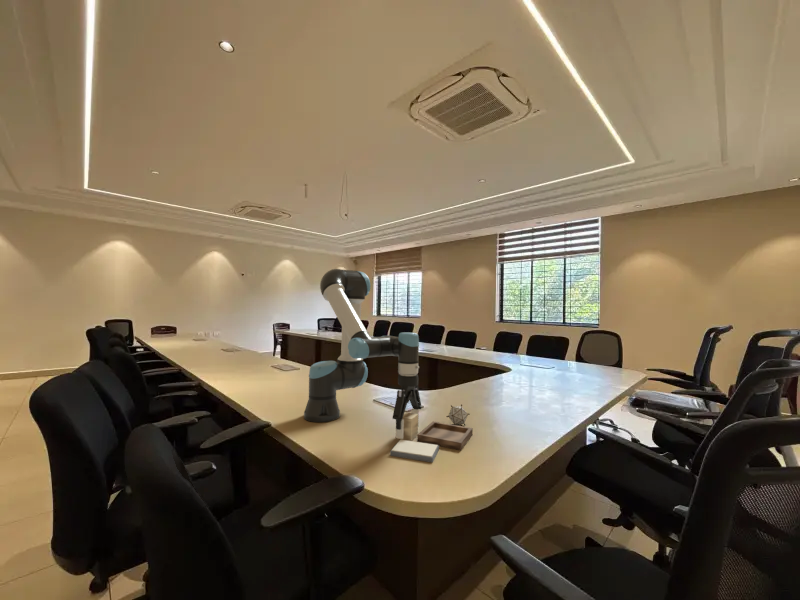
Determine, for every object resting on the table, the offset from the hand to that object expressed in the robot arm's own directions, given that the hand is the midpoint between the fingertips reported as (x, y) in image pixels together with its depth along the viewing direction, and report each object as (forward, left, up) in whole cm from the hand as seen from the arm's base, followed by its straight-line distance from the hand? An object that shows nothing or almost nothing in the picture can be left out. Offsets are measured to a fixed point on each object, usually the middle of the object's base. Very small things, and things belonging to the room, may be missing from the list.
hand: (407, 431), depth 124 cm
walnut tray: (+13, +6, -2) cm, 14 cm away
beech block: (0, 0, -2) cm, 2 cm away
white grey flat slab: (+8, -11, -2) cm, 14 cm away
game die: (+13, +22, -2) cm, 26 cm away
